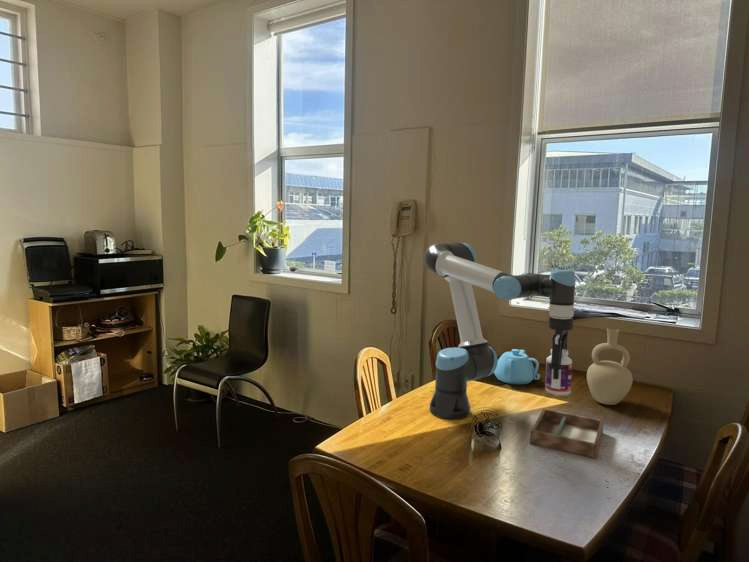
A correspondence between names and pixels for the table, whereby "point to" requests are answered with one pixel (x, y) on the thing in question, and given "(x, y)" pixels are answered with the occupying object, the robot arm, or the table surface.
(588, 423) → the crate
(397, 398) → the table surface
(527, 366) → the teapot
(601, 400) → the vase
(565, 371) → the pill bottle
